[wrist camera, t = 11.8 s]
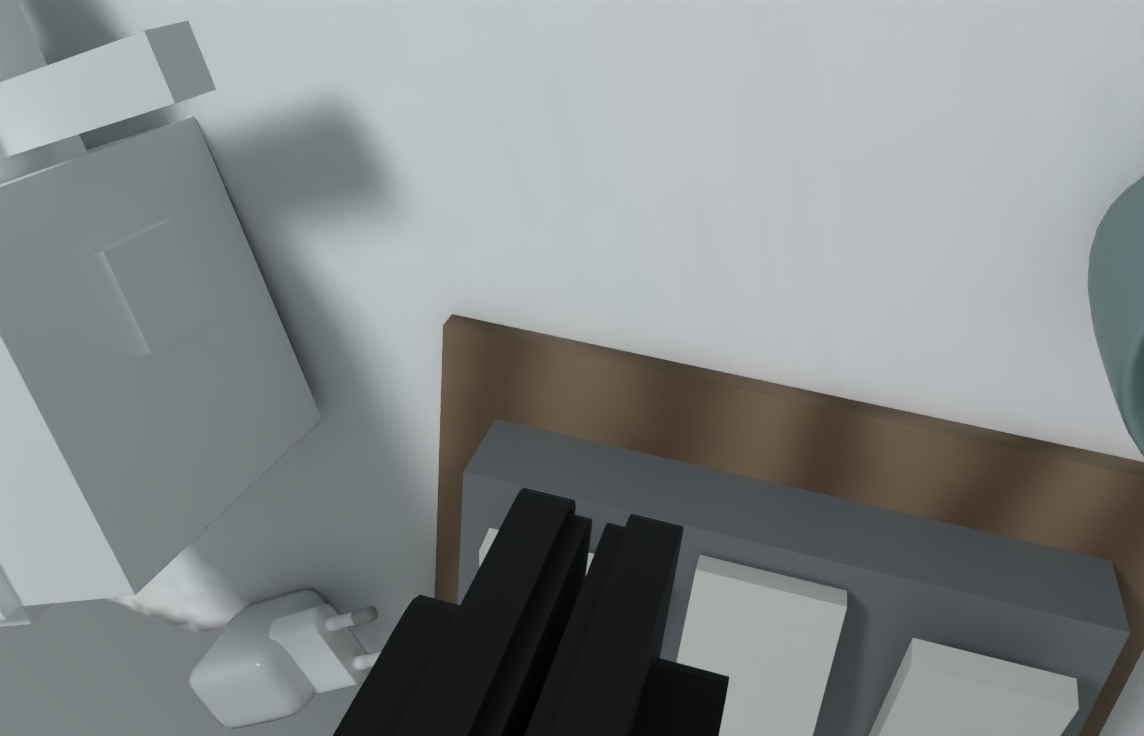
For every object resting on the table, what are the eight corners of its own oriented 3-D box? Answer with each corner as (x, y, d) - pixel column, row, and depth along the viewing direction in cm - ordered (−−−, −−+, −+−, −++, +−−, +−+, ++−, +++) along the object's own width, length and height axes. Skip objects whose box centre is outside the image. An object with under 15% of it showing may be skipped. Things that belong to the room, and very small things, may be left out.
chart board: (1216, 477, 39) (1225, 498, 38) (1043, 818, 50) (1046, 842, 49) (451, 314, 45) (440, 328, 44) (440, 652, 55) (430, 671, 54)
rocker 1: (847, 590, 40) (847, 606, 39) (801, 763, 43) (800, 782, 41) (699, 554, 41) (695, 569, 40) (664, 725, 44) (659, 743, 42)
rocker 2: (1076, 678, 37) (1078, 708, 36) (1005, 785, 43) (1005, 814, 42) (912, 637, 38) (911, 665, 37) (863, 747, 44) (861, 774, 43)
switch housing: (1111, 560, 41) (1133, 646, 37) (1030, 734, 46) (1042, 825, 42) (496, 418, 46) (457, 481, 42) (484, 591, 51) (449, 662, 47)
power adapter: (391, 548, 52) (338, 631, 48) (441, 621, 54) (395, 708, 49) (231, 596, 57) (169, 675, 52) (282, 662, 59) (225, 745, 54)
